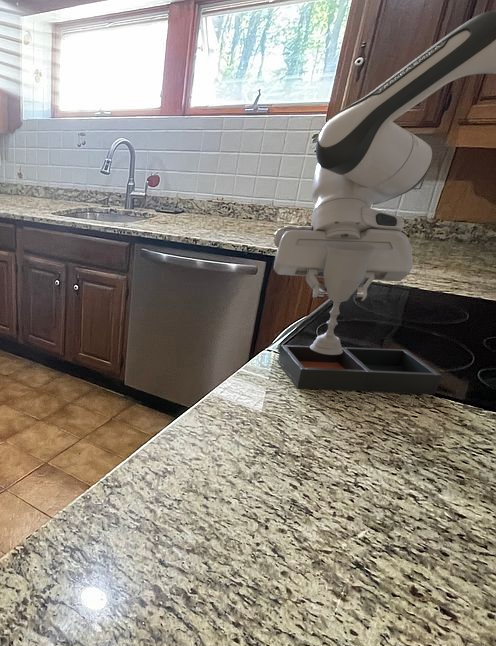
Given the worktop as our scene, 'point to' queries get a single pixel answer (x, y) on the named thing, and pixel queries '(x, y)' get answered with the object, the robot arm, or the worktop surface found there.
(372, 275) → the robot arm
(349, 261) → the chalice
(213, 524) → the worktop surface
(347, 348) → the tray
